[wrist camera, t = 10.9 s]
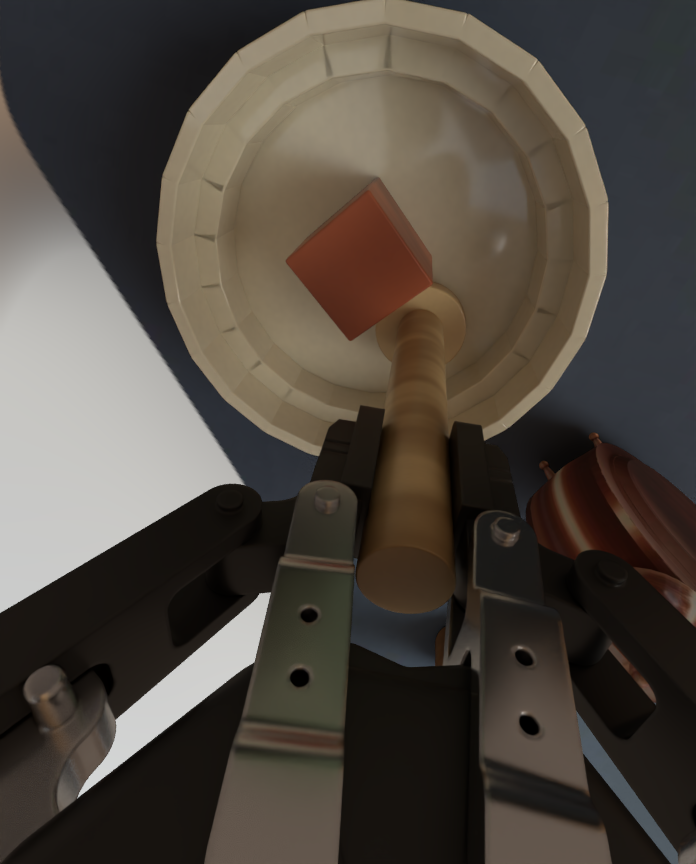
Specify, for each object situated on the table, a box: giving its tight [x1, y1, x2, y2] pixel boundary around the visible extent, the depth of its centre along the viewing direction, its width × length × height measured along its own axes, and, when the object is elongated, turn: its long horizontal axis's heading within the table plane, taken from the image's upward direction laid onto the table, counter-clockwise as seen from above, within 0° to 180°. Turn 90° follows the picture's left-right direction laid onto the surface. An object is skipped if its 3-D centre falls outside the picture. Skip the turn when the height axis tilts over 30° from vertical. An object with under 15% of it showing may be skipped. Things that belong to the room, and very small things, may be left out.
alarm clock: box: [526, 433, 696, 703], centre depth 20 cm, size 11×5×15 cm, turn 56°
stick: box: [355, 282, 467, 614], centre depth 16 cm, size 4×4×15 cm
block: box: [286, 177, 433, 341], centre depth 19 cm, size 4×4×4 cm
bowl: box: [156, 0, 609, 456], centre depth 20 cm, size 16×16×5 cm
